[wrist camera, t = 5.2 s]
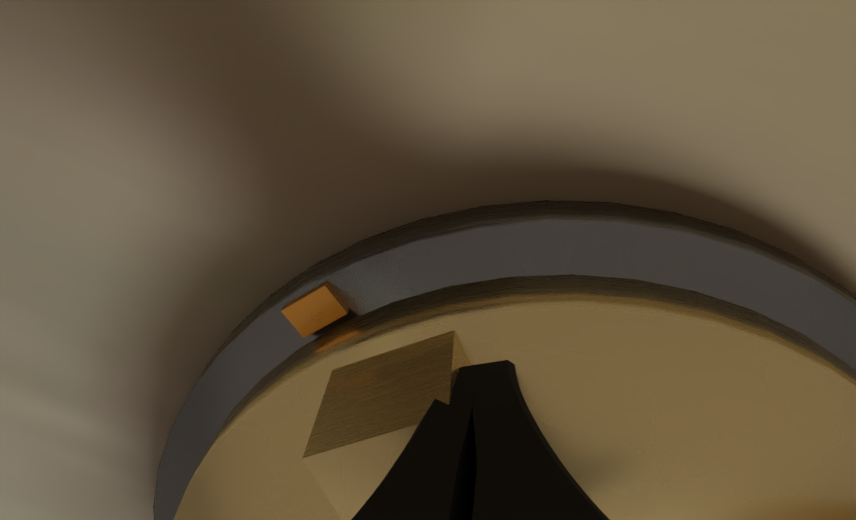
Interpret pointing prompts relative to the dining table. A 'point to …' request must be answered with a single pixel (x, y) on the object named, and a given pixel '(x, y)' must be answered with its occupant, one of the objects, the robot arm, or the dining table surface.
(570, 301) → the round tray
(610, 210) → the grey plate
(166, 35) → the dining table surface
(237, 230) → the dining table surface
